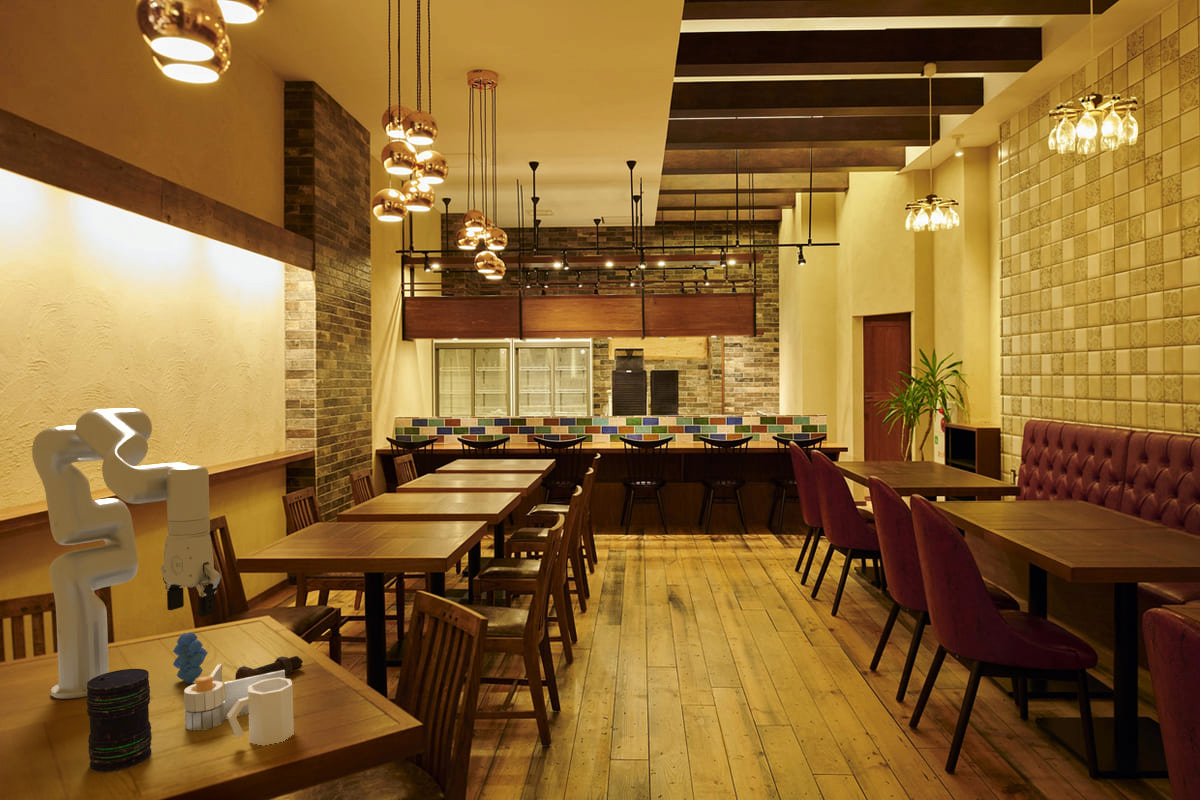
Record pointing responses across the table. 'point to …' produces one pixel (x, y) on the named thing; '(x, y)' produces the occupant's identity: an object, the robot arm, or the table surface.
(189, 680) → the grapes
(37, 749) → the table surface
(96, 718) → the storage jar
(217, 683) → the hinge leaf cream
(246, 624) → the table surface
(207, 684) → the hinge pin
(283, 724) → the mug
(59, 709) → the table surface
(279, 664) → the bolt
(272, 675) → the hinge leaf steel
